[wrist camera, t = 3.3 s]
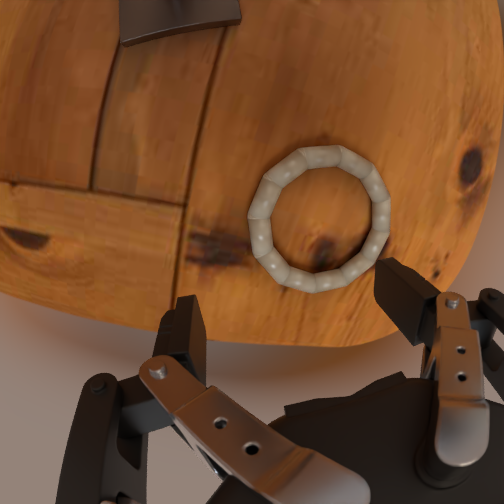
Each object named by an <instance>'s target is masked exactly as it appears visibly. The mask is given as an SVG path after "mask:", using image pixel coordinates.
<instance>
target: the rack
mask: <svg viewBox="0 0 504 504" xmlns="http://www.w3.org/2000/svg"><path fill="white" fill-rule="evenodd" d="M240 23H241V12H240V6H239V1H238V0H119V24H120V42H121V44H122V45H123V46H125V47H128V46H132V45H135V44H139V43H142V42H146V41H149V40H153V39H157V38H161V37H166V36H170V35H175V34H180V33H185V32H190V31H196V30H202V29H208V28H215V27H223V26H232V25H240Z"/></svg>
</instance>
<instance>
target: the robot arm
mask: <svg viewBox="0 0 504 504" xmlns="http://www.w3.org/2000/svg"><path fill="white" fill-rule="evenodd" d="M374 297H375V300H376V302H377V304H378V305H379V306H380V307H381V308H382V309H383V311H384V312H385V313H386V314H387V315H388V316H389V318H390V319H391V320H392V321H393V322H394V324H395V325H396V326H397V327H398V328H399V330H400V331H401V332H402V333H403V334H404V336H405V337H406V338H407V339H408V340H409V342H410V343H411V344H412V345H413V346H415V345H418V344H420V343H424V344H425V346H424V349H423V356H422V365H421V373H420V378H406V377H405V376H404V374H403V373H402V371H400V372H398V373H395V374H393V375H390V376H387V377H384V378H382V379H379V380H377V381H374V382H373V383H371V384H370V385H368V386H366V387H365V388H363V389H362V390H360V391H358V392H356V393H355V394H353V395H351V396H346V397H334V398H318V399H312V400H309V401H304V402H300V403H296V404H291V405H286V406H284V411H285V415H284V416H282V417H279V418H278V419H276V420H274V421H272V422H271V423H269V424H268V425H266V424H265V423H263V422H262V421H261V420H259V419H258V418H256V417H255V416H254V415H252V414H251V413H249V412H248V411H247V410H245V409H244V408H243V407H241V406H240V405H239V404H237V403H236V402H235V401H234V400H232V399H231V398H229V397H228V396H227V395H226V394H225V393H223V392H222V391H220V390H219V389H218V388H217V387H215V386H210V387H209V388H207V387H206V330H205V325H204V322H203V318H202V315H201V311H200V308H199V304H198V300H197V297H196V295H189V296H183V297H178V298H177V303H176V308H175V310H168V311H167V312H166V313H165V315H164V316H163V317H162V318H161V322H160V326H159V330H158V335H157V338H156V342H155V346H154V351H153V355H152V358H150V359H148V360H147V361H146V362H144V363H143V364H142V366H141V367H140V370H139V374H138V375H136V376H133V377H130V378H127V379H124V380H121V381H117V379H116V378H115V376H113V375H112V374H109V373H100V374H97V375H94V376H93V377H91V378H90V379H89V380H87V382H86V383H85V385H84V386H83V389H82V392H81V395H80V399H79V402H78V405H77V408H76V412H75V415H74V419H73V423H72V426H71V430H70V434H69V438H68V442H67V446H66V450H65V454H64V459H63V464H62V469H61V474H60V479H59V485H58V491H57V497H56V503H55V504H146V482H147V451H148V449H147V447H148V433H149V432H151V431H155V430H158V429H161V428H164V427H167V426H170V427H171V428H172V429H173V431H174V432H175V433H176V434H177V435H178V436H179V437H180V439H181V440H182V441H183V442H184V443H185V444H186V445H187V446H188V447H189V448H190V449H191V450H192V451H193V452H194V453H195V454H196V456H198V458H199V459H200V460H201V461H202V462H203V463H204V464H205V466H206V467H207V468H208V469H209V470H210V471H211V472H212V473H213V474H214V475H215V476H216V477H217V478H218V479H220V480H221V481H222V483H221V485H220V486H219V487H218V489H217V490H216V491H215V492H214V494H213V495H212V496H211V498H210V499H209V500H208V501H207V503H206V504H504V405H502V404H500V403H496V402H493V401H490V400H487V399H485V397H484V378H483V374H484V375H485V377H486V378H487V379H488V381H489V382H490V383H491V385H492V386H493V387H494V389H495V390H496V391H497V393H498V394H499V395H500V397H501V398H502V400H503V401H504V351H503V350H502V349H501V348H500V347H499V346H498V345H497V344H496V342H495V341H494V340H493V336H494V334H495V331H496V329H497V328H498V329H499V330H500V331H501V332H502V333H503V335H504V294H503V293H501V292H499V291H498V290H496V289H492V288H485V289H483V290H481V291H480V294H479V298H478V300H476V301H466V300H465V298H464V297H463V296H461V295H460V294H457V293H454V292H443V293H442V292H440V291H439V290H438V289H437V288H436V287H434V286H433V285H432V284H431V283H430V282H428V281H427V280H425V278H423V277H422V276H420V274H418V273H417V272H416V271H415V270H413V269H411V268H409V267H407V266H404V265H402V264H401V263H400V262H398V261H397V260H396V259H395V258H393V257H391V258H386V259H382V260H378V261H377V262H376V266H375V281H374Z"/></svg>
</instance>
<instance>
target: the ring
mask: <svg viewBox="0 0 504 504" xmlns="http://www.w3.org/2000/svg"><path fill="white" fill-rule="evenodd" d="M334 166H337V167H339V168H340V169H342V170H344V171H346V172H348V173H350V174H352V175H354V176H356V177H358V178H359V179H360V181H361V182H362V184H363V186H364V187H365V189H366V191H367V193H368V195H369V196H370V198H371V200H372V228H371V230H370V232H369V234H368V237H367V239H366V241H365V243H364V245H363V247H362V249H361V251H360V252H359V253H358V254H356V255H355V256H354V257H353V258H351V259H350V260H349V261H348V262H346V263H345V264H344V265H343V266H341V267H340V268H339V269H334V270H329V271H324V272H319V273H314V274H312V273H309V272H306V271H303V270H300V269H297V268H294V267H291V266H289V265H288V264H287V262H286V261H285V260H284V259H283V257H282V256H281V255H280V254H279V253H278V251H277V250H276V249H275V248H274V246H273V239H272V231H271V223H270V216H271V214H272V211H273V209H274V207H275V205H276V202H277V200H278V198H279V195H280V193H281V191H282V188H284V187H285V186H286V185H288V184H289V183H290V182H291V181H293V180H294V179H295V178H297V177H298V176H299V175H301V174H302V173H303V172H305V171H306V170H307V169H314V168H324V167H334ZM390 216H391V197H390V194H389V192H388V190H387V188H386V186H385V184H384V182H383V180H382V179H381V177H380V175H379V173H378V171H377V169H376V168H375V166H374V164H373V163H371V162H370V161H368V160H366V159H365V158H363V157H361V156H359V155H358V154H356V153H354V152H352V151H350V150H349V149H347V148H345V147H343V146H341V145H327V146H314V147H303V148H298V149H296V150H295V151H294V152H292V153H291V154H290V155H288V156H287V157H286V158H284V159H283V160H282V161H280V162H279V163H278V164H276V165H275V166H274V167H272V168H271V169H270V170H268V171H267V172H266V173H265V174H264V175H263V177H262V179H261V182H260V184H259V187H258V189H257V191H256V194H255V196H254V199H253V201H252V204H251V206H250V208H249V211H248V214H247V218H248V225H249V231H250V238H251V245H252V252H253V255H254V257H255V258H256V259H257V260H258V261H259V263H260V264H261V265H262V266H263V267H264V268H265V269H266V271H267V272H268V273H269V274H270V275H271V276H272V277H273V279H274V280H275V281H276V282H277V283H279V284H281V285H284V286H288V287H291V288H294V289H298V290H301V291H304V292H308V293H317V292H322V291H327V290H331V289H336V288H340V287H344V286H347V285H348V284H350V283H351V282H352V281H353V280H355V279H356V278H357V277H359V276H360V275H361V274H362V273H364V272H365V271H366V270H367V269H369V268H370V267H371V266H372V265H373V264H374V263H375V261H376V259H377V257H378V255H379V253H380V252H381V250H382V248H383V246H384V244H385V242H386V240H387V238H388V236H389V233H390Z"/></svg>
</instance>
